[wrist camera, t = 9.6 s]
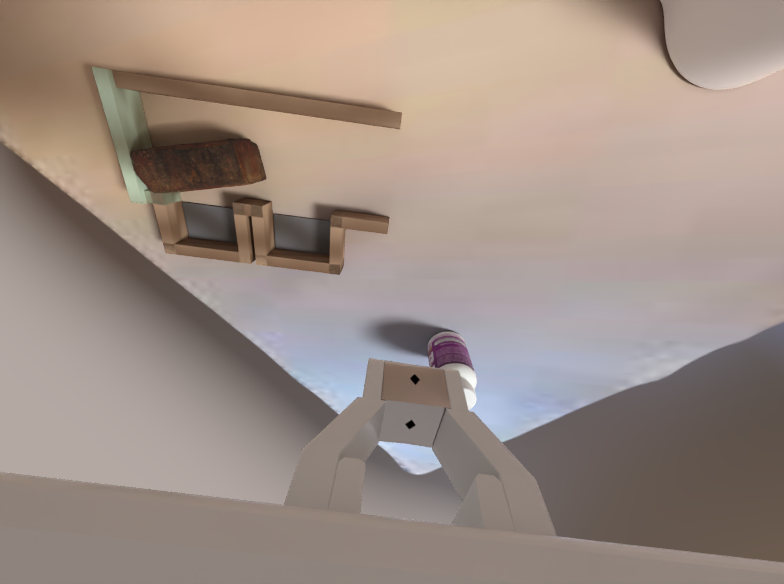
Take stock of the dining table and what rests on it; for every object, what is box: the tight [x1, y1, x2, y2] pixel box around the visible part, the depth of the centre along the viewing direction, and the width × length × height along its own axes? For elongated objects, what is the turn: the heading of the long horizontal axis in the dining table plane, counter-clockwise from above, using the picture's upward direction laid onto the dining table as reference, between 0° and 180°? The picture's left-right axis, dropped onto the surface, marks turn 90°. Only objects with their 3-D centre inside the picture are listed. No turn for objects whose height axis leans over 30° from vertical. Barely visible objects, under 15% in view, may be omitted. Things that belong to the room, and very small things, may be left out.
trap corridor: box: [92, 67, 402, 275], centre depth 29 cm, size 16×26×3 cm, turn 83°
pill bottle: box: [427, 331, 477, 410], centre depth 36 cm, size 5×5×10 cm
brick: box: [131, 139, 266, 193], centre depth 28 cm, size 11×4×5 cm, turn 95°
